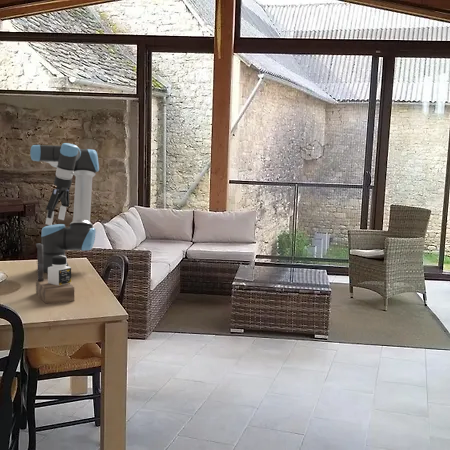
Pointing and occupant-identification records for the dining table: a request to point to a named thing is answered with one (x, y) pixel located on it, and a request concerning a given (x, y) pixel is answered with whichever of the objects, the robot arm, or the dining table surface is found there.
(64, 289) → the wooden stand
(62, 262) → the medicine bottle
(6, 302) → the dining table surface
